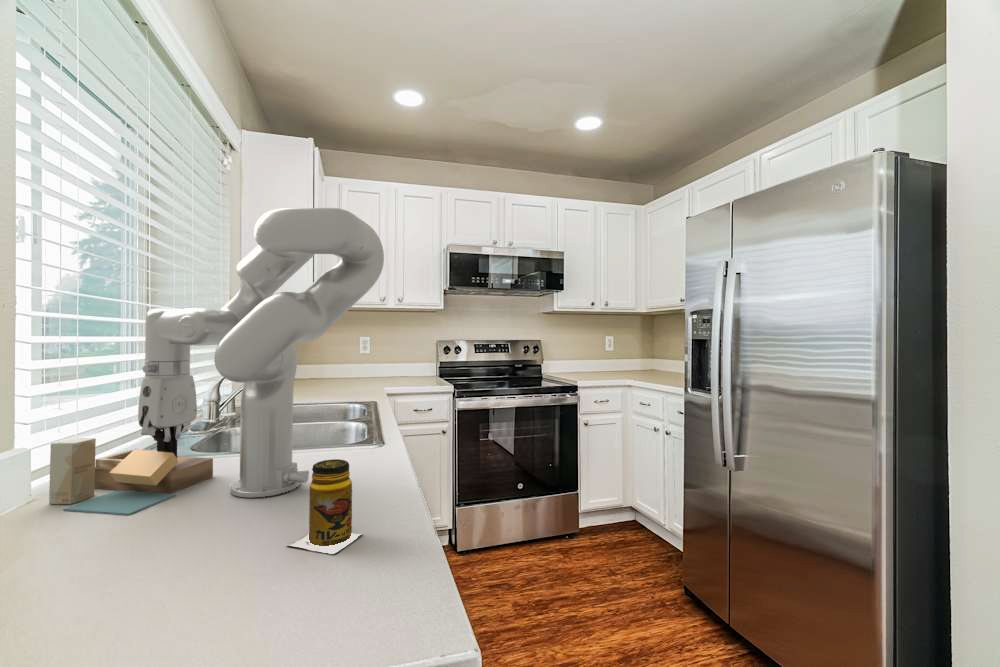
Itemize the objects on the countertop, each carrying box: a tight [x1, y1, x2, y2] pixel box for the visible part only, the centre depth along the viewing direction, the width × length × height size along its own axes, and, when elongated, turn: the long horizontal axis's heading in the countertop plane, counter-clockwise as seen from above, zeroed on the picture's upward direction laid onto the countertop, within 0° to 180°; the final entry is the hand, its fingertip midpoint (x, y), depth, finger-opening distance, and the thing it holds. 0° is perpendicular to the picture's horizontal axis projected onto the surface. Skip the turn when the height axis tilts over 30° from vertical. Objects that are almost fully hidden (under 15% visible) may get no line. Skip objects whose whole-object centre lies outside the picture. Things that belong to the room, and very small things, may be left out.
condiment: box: [308, 458, 353, 546], centre depth 72 cm, size 7×8×12 cm
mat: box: [62, 490, 177, 516], centre depth 88 cm, size 13×10×1 cm
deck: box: [94, 448, 214, 494], centre depth 100 cm, size 18×11×6 cm, turn 82°
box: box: [48, 437, 97, 505], centre depth 89 cm, size 5×4×11 cm
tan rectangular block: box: [109, 449, 179, 486], centre depth 93 cm, size 9×6×2 cm
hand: (166, 459), depth 97 cm, fingers closed
